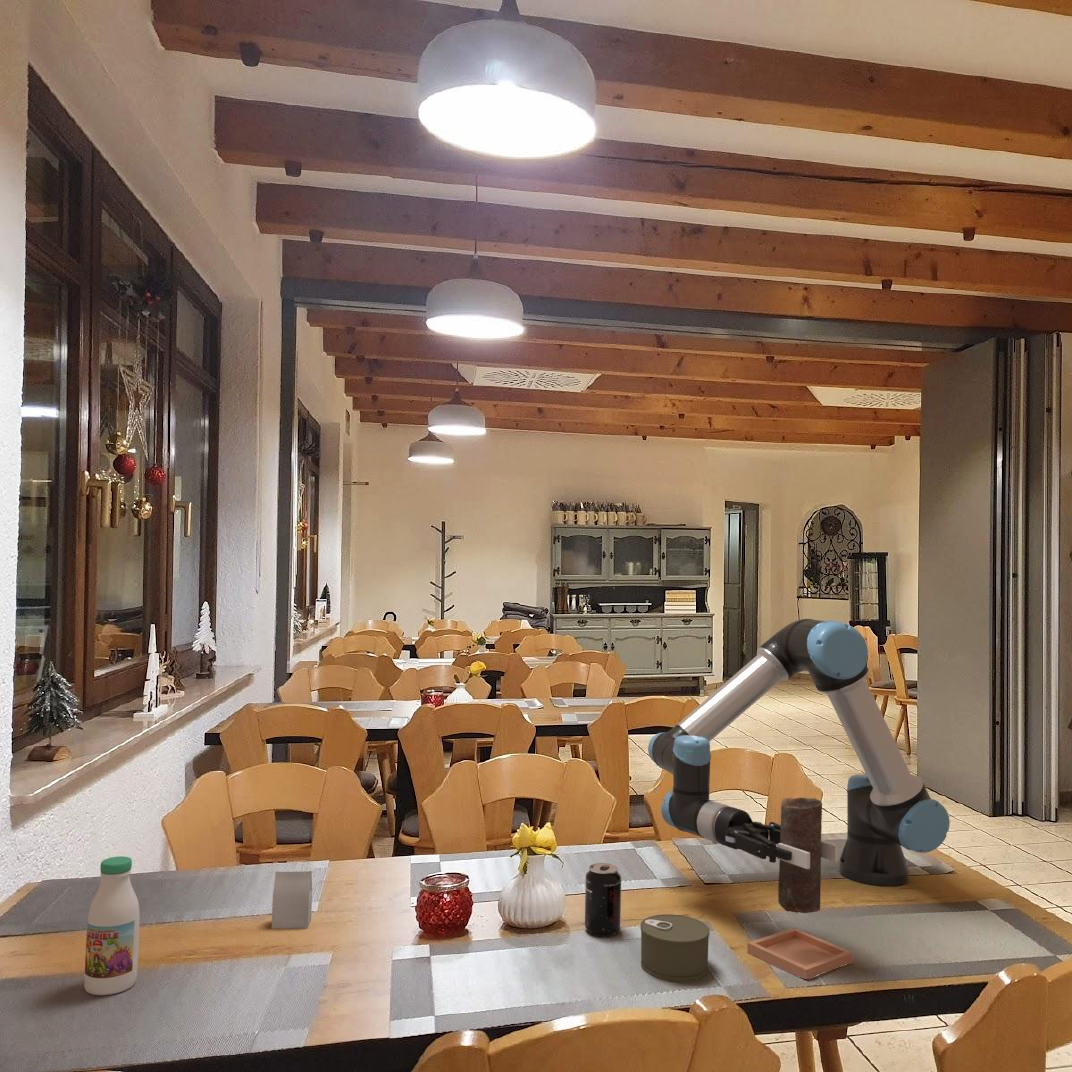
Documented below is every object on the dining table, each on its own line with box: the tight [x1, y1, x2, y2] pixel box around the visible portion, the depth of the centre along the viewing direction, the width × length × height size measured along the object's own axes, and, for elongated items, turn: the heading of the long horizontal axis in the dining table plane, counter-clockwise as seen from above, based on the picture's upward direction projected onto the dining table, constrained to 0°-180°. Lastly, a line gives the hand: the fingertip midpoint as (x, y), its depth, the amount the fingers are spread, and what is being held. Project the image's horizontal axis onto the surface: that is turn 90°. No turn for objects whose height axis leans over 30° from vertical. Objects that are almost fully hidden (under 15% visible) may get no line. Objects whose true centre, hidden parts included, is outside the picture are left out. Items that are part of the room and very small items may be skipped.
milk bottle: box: [83, 855, 140, 996], centre depth 142 cm, size 8×8×20 cm
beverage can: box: [584, 862, 622, 937], centre depth 168 cm, size 7×7×12 cm
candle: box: [777, 797, 823, 914], centre depth 159 cm, size 8×7×20 cm
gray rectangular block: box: [271, 870, 313, 930], centre depth 168 cm, size 4×7×10 cm, turn 95°
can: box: [639, 913, 710, 983], centre depth 153 cm, size 12×12×7 cm
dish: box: [746, 927, 854, 980], centre depth 158 cm, size 13×13×2 cm
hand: (822, 857), depth 155 cm, fingers closed on candle, 7 cm apart
